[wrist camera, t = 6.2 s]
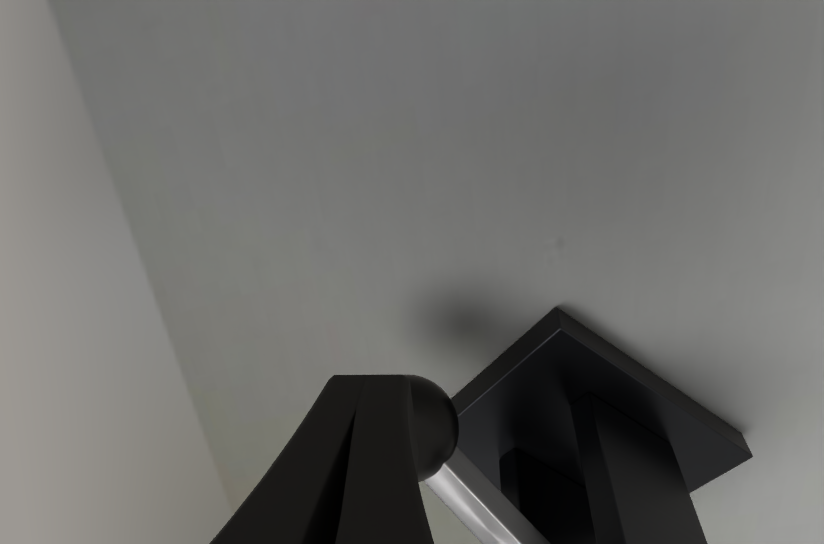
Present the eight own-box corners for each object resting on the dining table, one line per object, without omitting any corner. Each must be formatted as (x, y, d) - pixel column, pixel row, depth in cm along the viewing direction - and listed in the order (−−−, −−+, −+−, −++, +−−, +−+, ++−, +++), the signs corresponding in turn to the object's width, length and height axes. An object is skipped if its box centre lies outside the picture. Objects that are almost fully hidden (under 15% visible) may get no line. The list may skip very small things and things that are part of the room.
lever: (366, 394, 20) (314, 443, 17) (421, 339, 19) (374, 383, 16) (623, 664, 19) (612, 764, 16) (705, 629, 17) (708, 733, 15)
